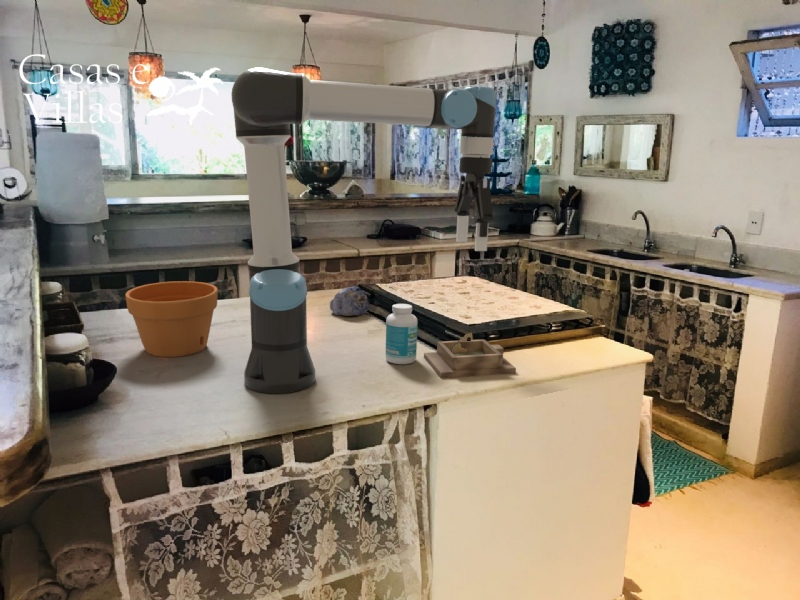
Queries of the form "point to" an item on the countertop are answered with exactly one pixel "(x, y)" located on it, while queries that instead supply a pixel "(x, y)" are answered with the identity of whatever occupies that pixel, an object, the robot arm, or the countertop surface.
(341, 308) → the rock
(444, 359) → the wooden tray
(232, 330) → the countertop surface
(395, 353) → the pill bottle
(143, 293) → the flower pot
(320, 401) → the countertop surface
